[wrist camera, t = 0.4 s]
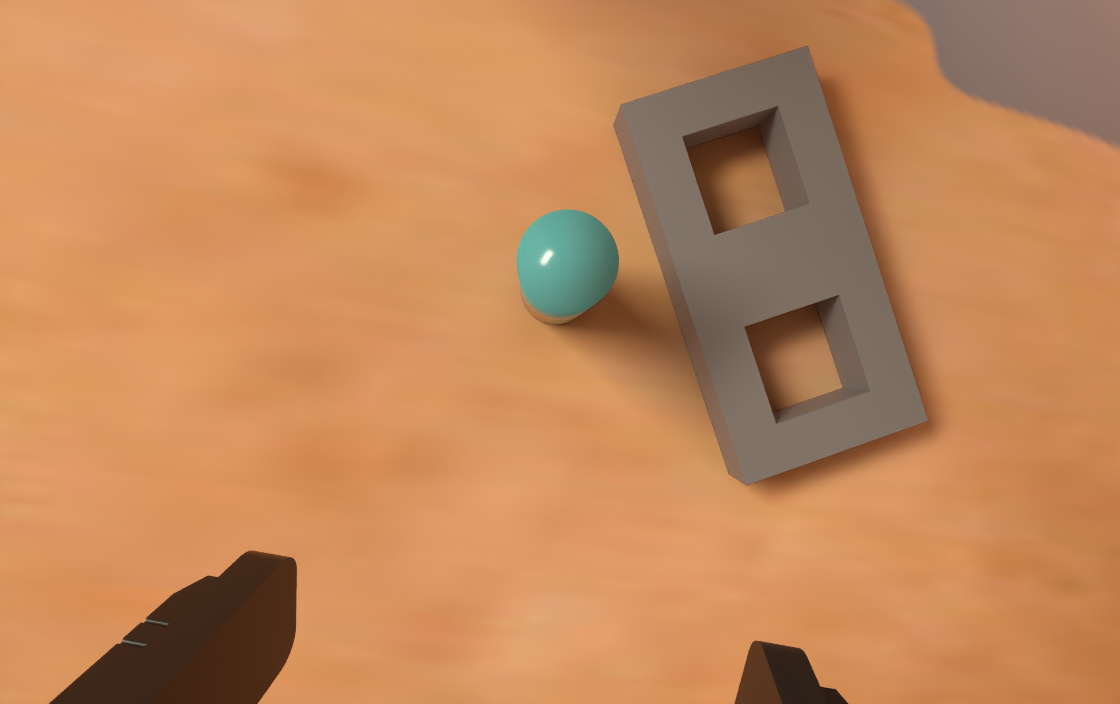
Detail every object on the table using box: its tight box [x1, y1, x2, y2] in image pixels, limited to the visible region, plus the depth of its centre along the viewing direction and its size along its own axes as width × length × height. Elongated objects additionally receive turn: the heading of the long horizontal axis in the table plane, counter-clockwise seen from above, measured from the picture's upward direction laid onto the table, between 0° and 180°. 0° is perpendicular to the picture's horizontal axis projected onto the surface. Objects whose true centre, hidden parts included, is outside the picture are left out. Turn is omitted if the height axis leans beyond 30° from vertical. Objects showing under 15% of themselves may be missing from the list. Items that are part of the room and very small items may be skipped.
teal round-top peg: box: [517, 210, 619, 325], centre depth 30 cm, size 4×4×12 cm
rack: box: [614, 46, 928, 485], centre depth 35 cm, size 24×12×3 cm, turn 19°
